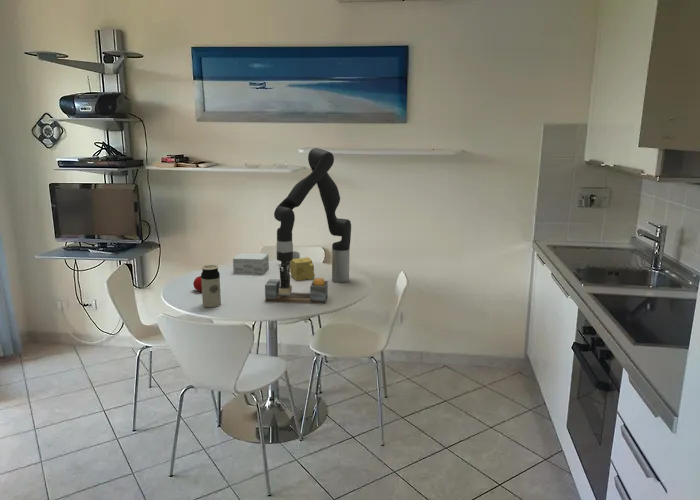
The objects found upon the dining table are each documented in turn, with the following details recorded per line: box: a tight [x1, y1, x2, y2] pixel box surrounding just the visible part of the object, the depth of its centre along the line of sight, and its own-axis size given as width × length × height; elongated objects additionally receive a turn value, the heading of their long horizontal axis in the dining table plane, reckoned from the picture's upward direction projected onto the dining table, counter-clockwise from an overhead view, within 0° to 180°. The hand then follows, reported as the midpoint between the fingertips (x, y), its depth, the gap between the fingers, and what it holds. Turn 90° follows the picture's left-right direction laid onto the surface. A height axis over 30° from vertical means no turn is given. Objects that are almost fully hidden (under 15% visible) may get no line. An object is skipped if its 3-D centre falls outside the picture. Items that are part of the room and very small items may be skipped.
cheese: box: [290, 256, 316, 282], centre depth 278 cm, size 10×11×10 cm
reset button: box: [313, 277, 325, 286], centre depth 242 cm, size 5×5×4 cm
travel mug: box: [200, 264, 222, 308], centre depth 233 cm, size 8×8×18 cm
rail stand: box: [264, 278, 329, 305], centre depth 243 cm, size 10×28×8 cm, turn 86°
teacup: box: [290, 250, 301, 263], centre depth 301 cm, size 14×11×8 cm
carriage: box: [279, 273, 293, 295], centre depth 243 cm, size 7×5×8 cm
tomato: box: [193, 275, 202, 293], centre depth 254 cm, size 9×9×8 cm
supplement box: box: [232, 252, 270, 276], centre depth 289 cm, size 17×13×9 cm
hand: (285, 284), depth 243 cm, fingers open, 5 cm apart
